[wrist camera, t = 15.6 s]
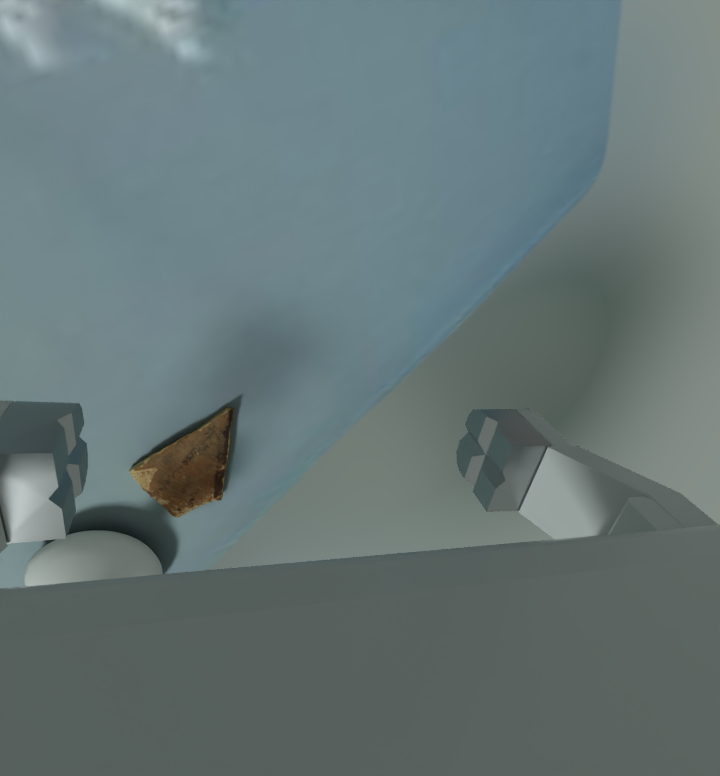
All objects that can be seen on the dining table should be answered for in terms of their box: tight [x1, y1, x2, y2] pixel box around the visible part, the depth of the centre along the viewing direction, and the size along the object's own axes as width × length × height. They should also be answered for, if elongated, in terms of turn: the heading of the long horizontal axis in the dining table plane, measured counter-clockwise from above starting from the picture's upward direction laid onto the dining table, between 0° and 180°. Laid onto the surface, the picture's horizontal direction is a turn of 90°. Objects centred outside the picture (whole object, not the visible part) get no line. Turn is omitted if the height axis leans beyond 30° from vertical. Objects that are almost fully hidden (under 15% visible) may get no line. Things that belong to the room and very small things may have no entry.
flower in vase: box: [24, 530, 163, 586], centre depth 34 cm, size 13×11×25 cm
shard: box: [129, 407, 234, 517], centre depth 42 cm, size 11×8×2 cm
